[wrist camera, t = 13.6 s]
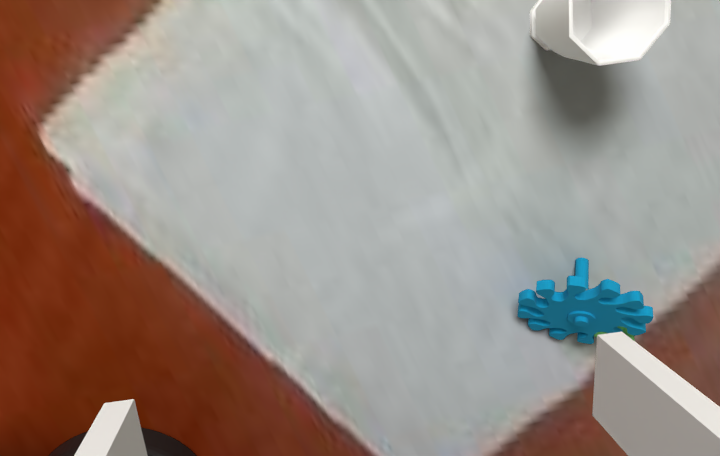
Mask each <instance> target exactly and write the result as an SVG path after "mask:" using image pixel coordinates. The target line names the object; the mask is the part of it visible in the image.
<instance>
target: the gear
mask: <svg viewBox="0 0 720 456" xmlns="http://www.w3.org/2000/svg"><path fill="white" fill-rule="evenodd" d="M588 267H589V261H588V259H586V258H578V259H576V264H575V276H568V277H567V289H566V290H565V291H564V292H555V291H554V290H555V282H554V281H552V280H541V281H537V288H536V292H537V294H539V295H541V296H543V297H544V298H546V299H541V298H538V297H537V296H536V293H535V292H534V291H532V290H530V289H527V290H524V291H522V292H520V293H519V300H518V303H519V306H518V317H520V318H529V320H528V326H529V327H530V328H531V329H532V330H536V331H537V330H542V329H545V328H549V336H551V337H553V338H555V339H558V340H562V339H564V338H565V337H566V336H567V335H569V334H572V333H577V332H578V333H577V341H578V342H581V343H586V344H593V343H594V336H595V337H597V335H600V334H608V333H615V332H623V333H624V334H626V335H627V336H628V337H630V338H631V339H632V340H633V341H634V336H635V335H640V334H643V333H645V332H646V326H645V323H650V322H651V321H652V319H653V308H652V307H649V306H644V304H643V295H642V294H641V293H640V291H631V292H628V293H625V294H620V285H619V284H618V283H616V282H614V281H612V280H609V279H606V280H603V281H601V283H600V284H599V285H598V286H597V287H595V288H592V289H588Z"/></svg>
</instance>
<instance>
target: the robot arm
mask: <svg viewBox="0 0 720 456" xmlns="http://www.w3.org/2000/svg"><path fill="white" fill-rule="evenodd" d="M592 415H593V416H594V418H595V419H596V420H597V421H598V422H599V423H600V424H601V425H602V427H603V428H604V429H605V430H606V431H607V432H608V433H609V434H610V436H611V437H612V438H613V439H614V440H615V441H616V442H617V443H618V445H619V446H620V447H621V448H622V449H623V450H624V451H625V452H626V454H627V455H628V456H720V407H719V406H718V405H716V404H715V403H714V402H713V401H711V400H710V399H709V398H707V397H706V396H705V395H703V394H702V393H701V392H700V391H698V390H697V389H696V388H694V387H693V386H692V385H690V384H689V383H688V382H687V381H685V380H684V379H683V378H681V377H680V376H679V375H678V374H676V373H675V372H674V371H672V370H671V369H670V368H668V367H667V366H666V365H665V364H663V363H662V362H661V361H659V360H658V359H657V358H655V357H654V356H653V355H652V354H650V353H649V352H648V351H646V350H645V349H644V348H642V347H641V346H640V345H639V344H637V343H636V342H635V341H633V340H632V339H631V338H630V337H628V336H627V335H626V334H624V333H623V332H615V333H608V334H600V335H597V346H596V363H595V380H594V397H593V414H592ZM49 456H196V455H195V454H194V453H193V452H192V451H191V450H190V449H189V448H187V447H186V446H185V445H183V444H182V443H180V442H179V441H177V440H175V439H173V438H171V437H169V436H167V435H165V434H162V433H160V432H156V431H153V430H149V429H145V428H141V426H140V422H139V418H138V413H137V409H136V405H135V401H134V399H131V400H124V401H117V402H110V403H104V405H103V407H102V408H101V410H100V412H99V413H98V415H97V417H96V419H95V420H94V422H93V424H92V426H91V427H90V429H89V431H88V432H85V433H82V434H80V435H77V436H75V437H73V438H71V439H69V440H68V441H66V442H64V443H63V444H61V445H60V446H59V447H57V448H56V449H55V450H54V451H53V452H51V454H50V455H49Z"/></svg>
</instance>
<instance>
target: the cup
mask: <svg viewBox="0 0 720 456" xmlns="http://www.w3.org/2000/svg"><path fill="white" fill-rule="evenodd" d="M670 15H671V0H538V1H537V3H536V4H535V5H534V6H533V8H532V9H531V10H530V12H529V18H530V36H531V37H532V38H533V39H534V40H535V41H536V42H537V43H538V44H539V45H540V46H541V47H542V48H543V49H544V50H545V51H546V50H552V51H553V52H555V53H557V54H559V55H561V56H563V57H565V58H570V59H574V60H578V61H582V62H586V63H589V64H594V65H598V66H600V65H608V64H615V63H622V62H629V61H637V60H640V59H641V58H642V57H643V56H644V54H645V53H646V52H647V51H648V50H649V48H650V47H651V46H652V45H653V44H654V42H655V41H656V40H657V39H658V38H659V36H660V35H661V34H662V33H663V32H664V30H665V29H666V28H667V27H668V26H669V24H670Z"/></svg>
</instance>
